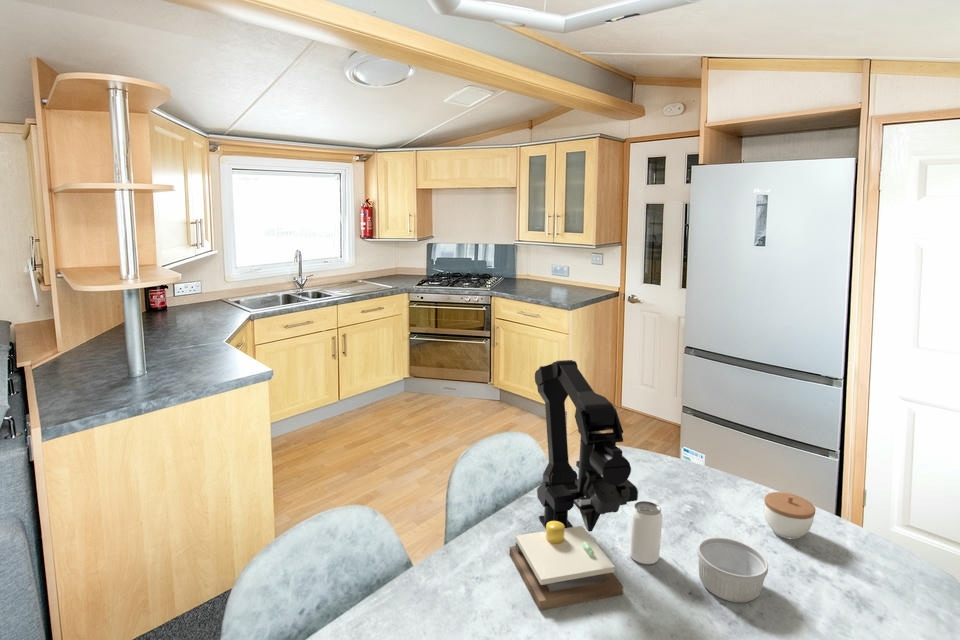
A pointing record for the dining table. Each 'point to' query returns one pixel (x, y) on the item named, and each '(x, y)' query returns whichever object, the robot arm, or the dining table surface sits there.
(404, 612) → the dining table surface
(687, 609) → the dining table surface
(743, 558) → the ramekin
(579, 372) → the robot arm
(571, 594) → the walnut base
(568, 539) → the plate
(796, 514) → the lidded jar
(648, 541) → the can
